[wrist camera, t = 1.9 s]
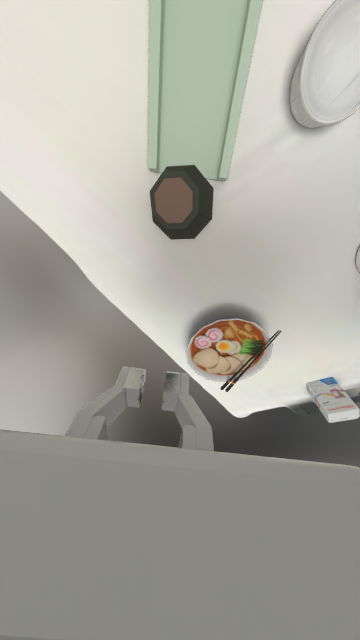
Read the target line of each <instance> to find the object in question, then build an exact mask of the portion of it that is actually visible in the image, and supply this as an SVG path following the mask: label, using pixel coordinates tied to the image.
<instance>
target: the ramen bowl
mask: <svg viewBox="0 0 360 640" xmlns="http://www.w3.org/2000/svg"><path fill="white" fill-rule="evenodd" d="M279 331H280V330H278V331H277V332H276V333H275V334H274V335H273V336H272V337H271V338H270V337H269V334H268V332H266V331H265V330H264V329H263V328H261V327H260V326H259V325H258V324H256V323H254V322H251V321H247V320H243V319H239V318H228V319H218V320H216V321H214V322H211V323H209V324H207V325H205V326H203V327H202V328H201V329H200V330H199V331H198V332H197V333H196V334H195V335H194V336H193V337H192V338H191V339H190V342H189V345H188V348H187V350H186V354H187V361H188V364H189V365H190V366H191V368H192V369H193V370H194V372H195V373H197V374H198V375H200V376H202V377H204V378H205V379H208V380H213V381H217V382H226V383H225V384H224V385H223V386H222V387H221V390H223V389H224V388H225V387H226V386H227V385H228V384H229V383H230V382H232V383H231V384H230V385H229V386H228V387H227V389H226V392H228V391H229V390H230V389H231V387H232V386H233V385H234V384H235V383H236V382H237V381H238V380H242V379H245V378H248V377H250V376H252V375H253V374H255V373H257V372H258V371H260V370H261V369H262V368H263V367H264V366H265V364H266V363H267V362H268V360H269V359H270V357H271V352H272V347H273V344H272V341H273V340H274V339H275V338H276V337H277V336H278V335H279V333H280V332H281V331H280V332H279ZM278 332H279V333H278ZM277 333H278V334H277ZM276 334H277V335H276ZM275 335H276V336H275ZM274 336H275V337H274ZM273 337H274V339H273V340H272V341H271V339H272V338H273Z"/></svg>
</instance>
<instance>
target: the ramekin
mask: <svg viewBox="0 0 360 640" xmlns="http://www.w3.org/2000/svg"><path fill="white" fill-rule="evenodd" d="M290 106H291V111H292V113H293V116H294V117H295V119H296V120H297V122H298V123H300V124H301V125H303V126H304V127H308V128H309V127H310V128H313V127H314V128H316V127H320V126H330V125H334V124H337V123H339V122H341V121H343V120H345V119H346V118H348V117H349V116H351V115H352V114H353V113H355V112H356V111H357V110H358V109H359V108H360V0H335V1H334V2H333V4H332V5H331V6H330V7H329V8H328V9H327V11H326V12H325V13H324V15H323V16H322V18H321V19H320V20H319V22H318V23H317V25H316V27H315V29H314V30H313V32H312V34H311V36H310V38H309V40H308V42H307V45H306V47H305V50H304V53H303V55H302V57H301V59H300V61H299V63H298V65H297V67H296V70H295V73H294V76H293V80H292V85H291V92H290Z"/></svg>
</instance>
